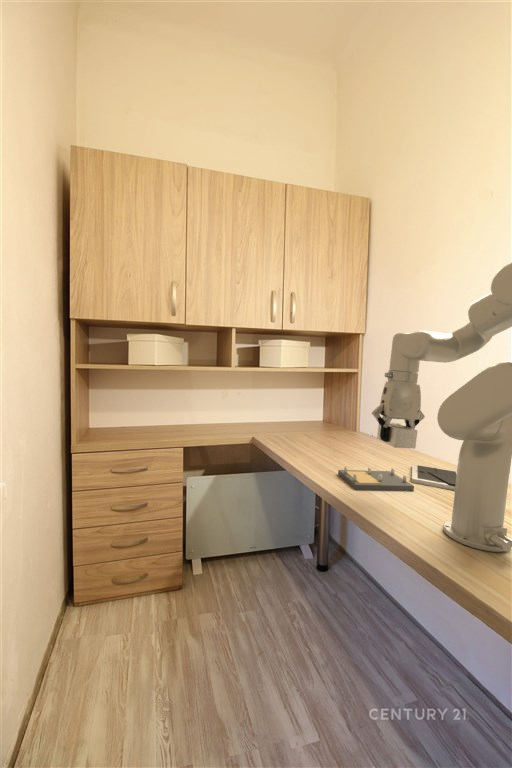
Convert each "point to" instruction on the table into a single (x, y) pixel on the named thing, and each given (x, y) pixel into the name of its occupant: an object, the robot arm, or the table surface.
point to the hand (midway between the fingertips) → (395, 440)
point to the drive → (400, 436)
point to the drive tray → (375, 480)
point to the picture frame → (434, 476)
